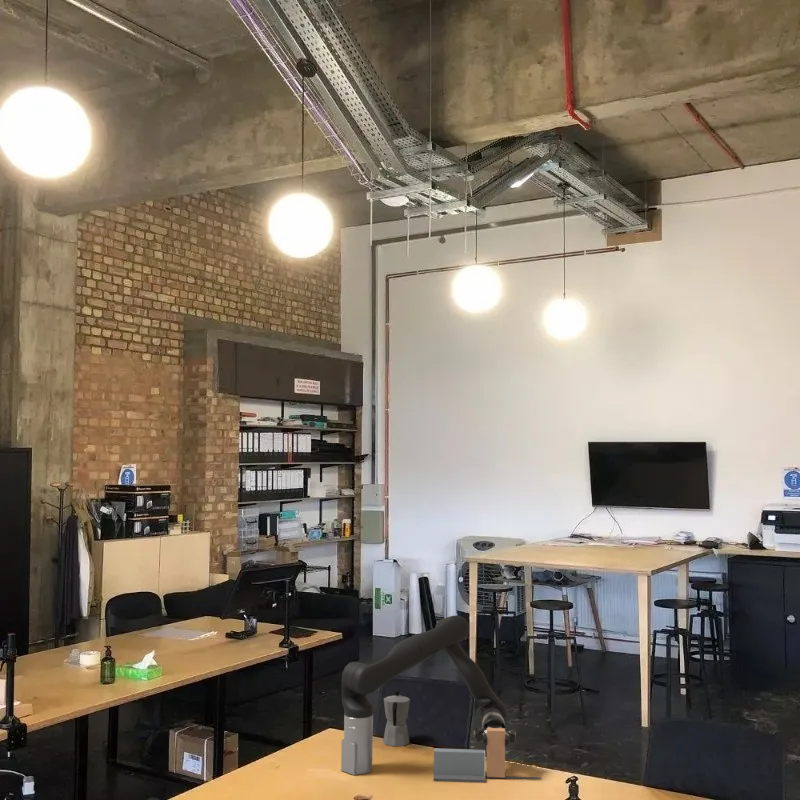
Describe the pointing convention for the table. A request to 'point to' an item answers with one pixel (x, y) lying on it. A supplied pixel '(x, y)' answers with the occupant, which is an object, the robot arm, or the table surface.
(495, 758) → the stub
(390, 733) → the coffeepot
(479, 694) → the robot arm
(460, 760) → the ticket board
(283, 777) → the table surface
